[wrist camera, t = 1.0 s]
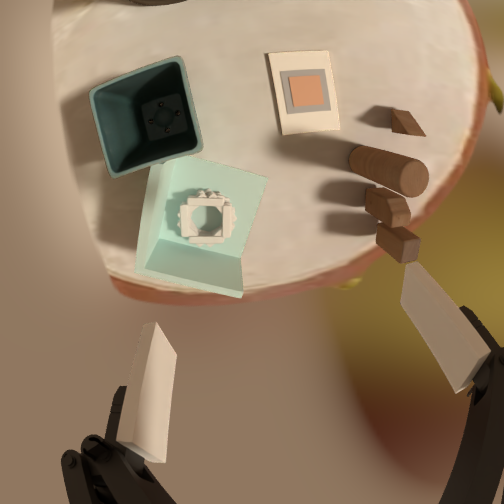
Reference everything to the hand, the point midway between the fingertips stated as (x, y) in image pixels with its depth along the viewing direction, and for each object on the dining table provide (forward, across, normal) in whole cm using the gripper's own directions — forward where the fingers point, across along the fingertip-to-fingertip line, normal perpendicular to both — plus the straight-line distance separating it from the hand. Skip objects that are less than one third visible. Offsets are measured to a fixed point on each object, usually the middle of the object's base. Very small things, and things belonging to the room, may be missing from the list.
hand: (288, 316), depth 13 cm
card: (+22, +8, +10) cm, 26 cm away
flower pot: (+22, -8, +11) cm, 26 cm away
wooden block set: (+22, +16, -2) cm, 27 cm away
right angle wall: (+22, -6, -1) cm, 23 cm away
